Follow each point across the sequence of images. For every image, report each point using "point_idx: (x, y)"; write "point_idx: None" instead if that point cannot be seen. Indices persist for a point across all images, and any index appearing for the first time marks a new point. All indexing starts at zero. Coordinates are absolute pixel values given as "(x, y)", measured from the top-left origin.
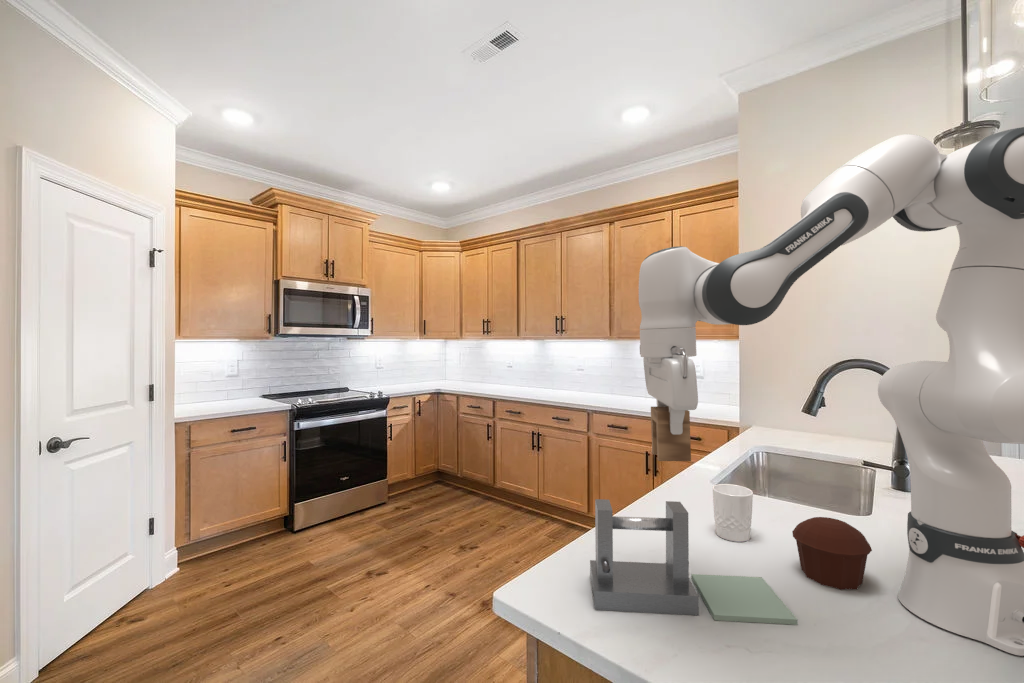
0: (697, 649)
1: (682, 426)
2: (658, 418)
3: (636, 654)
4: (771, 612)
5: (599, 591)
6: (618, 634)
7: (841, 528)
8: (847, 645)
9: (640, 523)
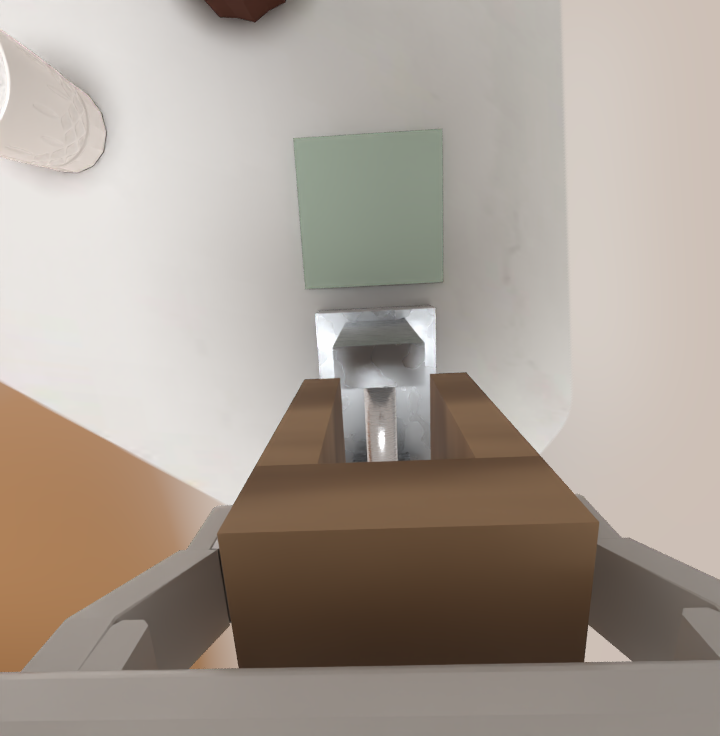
0: (517, 328)
1: (604, 519)
2: None
3: (533, 417)
4: (424, 171)
5: None
6: None
7: None
8: (492, 65)
9: (396, 448)
